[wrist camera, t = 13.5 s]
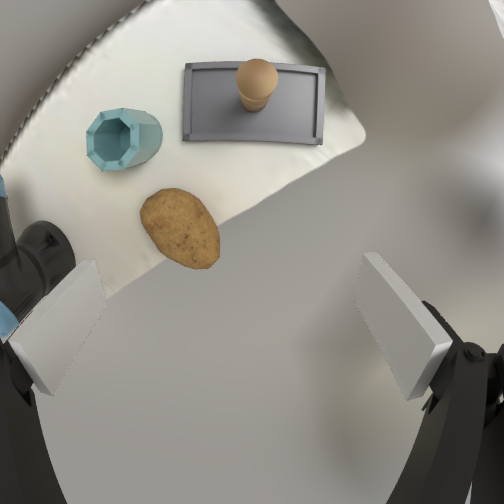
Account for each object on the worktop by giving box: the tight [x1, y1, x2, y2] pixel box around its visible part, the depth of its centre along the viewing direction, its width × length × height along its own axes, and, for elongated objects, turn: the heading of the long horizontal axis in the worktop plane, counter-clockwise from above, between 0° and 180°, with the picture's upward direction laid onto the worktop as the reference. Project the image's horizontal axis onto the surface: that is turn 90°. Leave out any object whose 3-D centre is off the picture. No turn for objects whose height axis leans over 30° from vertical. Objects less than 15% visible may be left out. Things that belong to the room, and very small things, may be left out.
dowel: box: [236, 59, 278, 113], centre depth 28 cm, size 4×4×17 cm
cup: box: [86, 108, 162, 171], centre depth 34 cm, size 8×8×10 cm
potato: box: [140, 188, 220, 269], centre depth 41 cm, size 10×14×8 cm
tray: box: [183, 61, 325, 145], centre depth 36 cm, size 20×12×2 cm, turn 88°
